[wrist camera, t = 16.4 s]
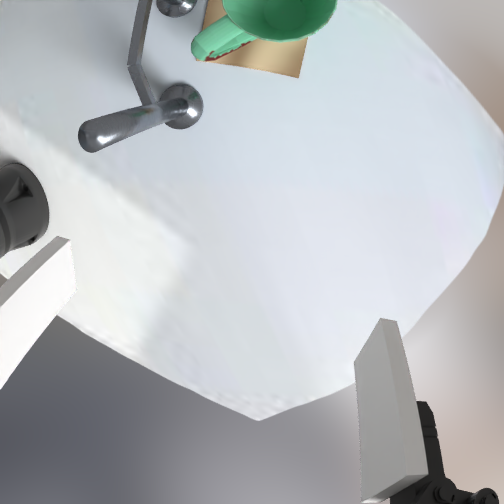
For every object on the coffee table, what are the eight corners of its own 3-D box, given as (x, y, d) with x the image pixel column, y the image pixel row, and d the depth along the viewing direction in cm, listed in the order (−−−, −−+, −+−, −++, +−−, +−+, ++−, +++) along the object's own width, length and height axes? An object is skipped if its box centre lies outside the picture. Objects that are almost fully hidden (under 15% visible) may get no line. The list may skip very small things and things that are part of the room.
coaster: (196, 60, 33) (196, 60, 32) (216, -28, 26) (215, -28, 26) (298, 78, 32) (298, 78, 32) (319, -13, 26) (319, -14, 26)
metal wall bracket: (139, 122, 37) (39, 164, 21) (163, -18, 27) (69, -62, 11) (199, 131, 37) (121, 179, 21) (228, -16, 27) (166, -81, 11)
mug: (293, -37, 25) (289, -71, 16) (346, 25, 28) (362, 7, 19) (191, 31, 31) (156, 19, 22) (241, 91, 34) (220, 95, 25)
